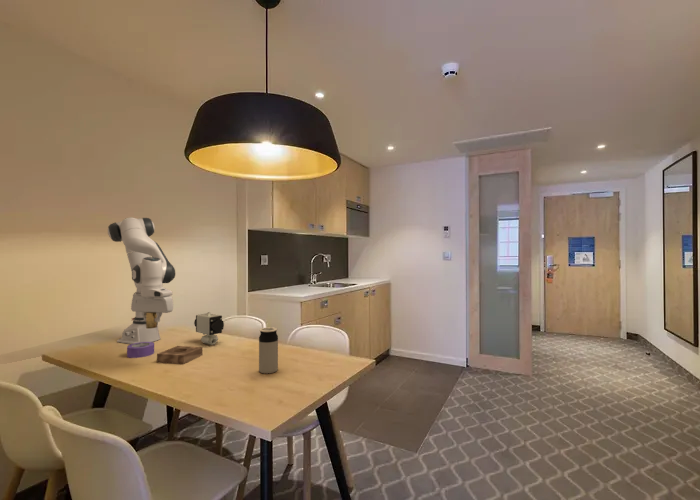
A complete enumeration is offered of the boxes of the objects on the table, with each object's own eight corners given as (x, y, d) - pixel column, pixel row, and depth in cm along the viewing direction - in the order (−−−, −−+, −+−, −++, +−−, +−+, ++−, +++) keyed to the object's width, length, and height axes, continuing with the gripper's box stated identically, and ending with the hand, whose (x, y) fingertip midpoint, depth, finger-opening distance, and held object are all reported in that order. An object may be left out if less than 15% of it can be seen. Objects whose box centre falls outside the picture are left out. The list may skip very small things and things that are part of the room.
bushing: (143, 328, 155) (143, 313, 155) (151, 326, 160) (151, 311, 160) (151, 328, 154) (151, 313, 154) (159, 326, 159) (159, 311, 159)
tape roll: (150, 357, 166) (150, 346, 166) (123, 359, 163) (123, 348, 163) (157, 350, 177) (157, 340, 177) (131, 352, 174) (131, 342, 174)
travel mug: (266, 375, 140) (266, 332, 140) (255, 371, 145) (255, 329, 146) (281, 370, 146) (281, 328, 146) (270, 366, 151) (270, 326, 152)
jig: (156, 362, 157) (156, 353, 157) (177, 353, 171) (177, 345, 171) (183, 364, 155) (183, 355, 155) (202, 355, 168) (202, 347, 168)
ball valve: (226, 344, 188) (226, 312, 188) (212, 348, 181) (212, 314, 181) (207, 339, 198) (207, 309, 198) (193, 343, 191) (193, 311, 191)
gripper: (127, 292, 156) (127, 322, 156) (165, 293, 152) (165, 323, 152) (138, 290, 162) (138, 319, 162) (175, 291, 158) (175, 321, 158)
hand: (151, 321), depth 157 cm, fingers closed on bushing, 4 cm apart
